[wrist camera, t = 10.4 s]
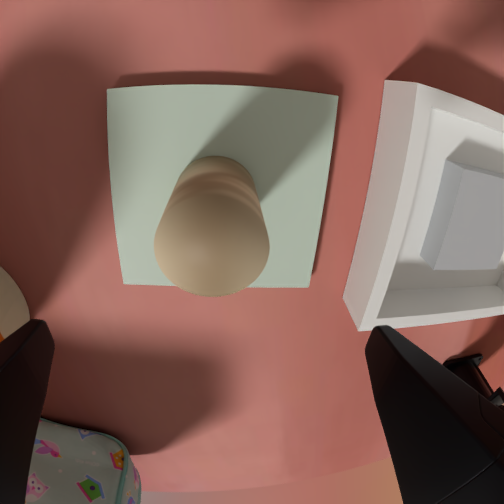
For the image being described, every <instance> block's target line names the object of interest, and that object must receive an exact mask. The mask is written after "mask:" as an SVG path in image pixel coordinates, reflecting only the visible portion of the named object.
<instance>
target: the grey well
mask: <svg viewBox="0 0 504 504" xmlns="http://www.w3.org/2000/svg"><path fill="white" fill-rule="evenodd" d="M342 298H343V300H344V302H345V304H346V306H347V308H348V310H349V312H350V314H351V317H352V319H353V321H354V323H355V325H356V327H357V330H358V331H369V330H372V329H373V328H374V327H375V326H378V325H389V326H391V327H392V328H404V327H414V326H423V325H432V324H441V323H449V322H456V321H463V320H471V319H477V318H484V317H490V316H496V315H502V314H504V115H502V114H500V113H497V112H495V111H493V110H491V109H488V108H486V107H484V106H481V105H479V104H476V103H474V102H471V101H469V100H466V99H464V98H461V97H458V96H456V95H453V94H450V93H447V92H445V91H442V90H439V89H436V88H433V87H430V86H427V85H423V84H420V83H415V82H405V81H394V80H385V82H384V91H383V99H382V107H381V114H380V121H379V128H378V135H377V141H376V148H375V154H374V159H373V165H372V171H371V176H370V182H369V187H368V192H367V197H366V202H365V207H364V211H363V216H362V221H361V225H360V230H359V234H358V238H357V243H356V247H355V251H354V255H353V259H352V263H351V267H350V271H349V275H348V279H347V283H346V286H345V290H344V294H343V297H342Z"/></svg>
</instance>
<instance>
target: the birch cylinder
mask: <svg viewBox="0 0 504 504" xmlns="http://www.w3.org/2000/svg"><path fill="white" fill-rule="evenodd" d="M269 251H270V243H269V237H268V233H267V229H266V225H265V221H264V217H263V214H262V210H261V206H260V202H259V199H258V195H257V191H256V187H255V184H254V181H253V178H252V176H251V175H250V173H249V172H248V170H247V169H246V168H245V167H244V166H243V165H241V164H240V163H239V162H237V161H235V160H233V159H231V158H228V157H224V156H207V157H203V158H200V159H198V160H196V161H194V162H192V163H191V164H190V165H188V166H187V167H186V168H185V169H184V170H183V172H182V173H181V175H180V176H179V178H178V180H177V183H176V185H175V187H174V189H173V192H172V194H171V196H170V198H169V201H168V203H167V205H166V208H165V210H164V213H163V215H162V217H161V220H160V222H159V225H158V227H157V230H156V233H155V237H154V253H155V257H156V261H157V263H158V265H159V267H160V269H161V271H162V272H163V273H164V275H165V276H166V277H167V278H168V279H169V280H170V281H171V282H172V283H173V284H175V285H176V286H177V287H179V288H181V289H182V290H185V291H187V292H189V293H192V294H195V295H200V296H207V297H218V296H225V295H230V294H233V293H236V292H238V291H240V290H242V289H244V288H246V287H247V286H249V285H250V284H251V283H253V282H254V281H255V280H256V279H257V278H258V277H259V275H260V274H261V273H262V271H263V269H264V268H265V266H266V263H267V261H268V257H269Z"/></svg>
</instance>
